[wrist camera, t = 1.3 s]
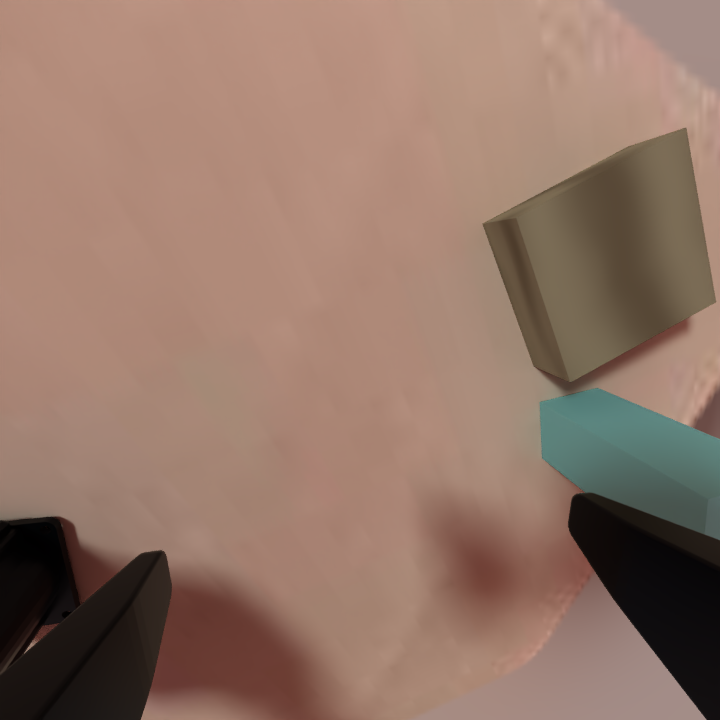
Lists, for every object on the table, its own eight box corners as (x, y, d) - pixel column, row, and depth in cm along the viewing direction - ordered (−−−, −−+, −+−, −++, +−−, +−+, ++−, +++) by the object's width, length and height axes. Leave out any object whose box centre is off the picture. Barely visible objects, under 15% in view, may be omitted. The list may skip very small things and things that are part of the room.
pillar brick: (542, 458, 25) (699, 583, 15) (539, 402, 24) (708, 499, 14) (597, 443, 25) (782, 555, 16) (597, 387, 24) (798, 472, 15)
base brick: (530, 364, 23) (570, 382, 20) (479, 224, 20) (516, 217, 17) (655, 295, 24) (716, 302, 20) (622, 148, 21) (686, 127, 17)
